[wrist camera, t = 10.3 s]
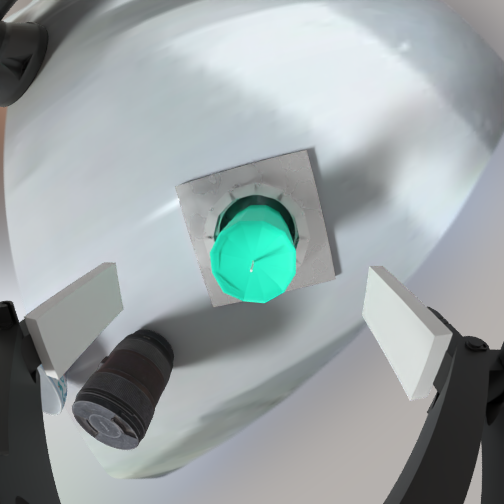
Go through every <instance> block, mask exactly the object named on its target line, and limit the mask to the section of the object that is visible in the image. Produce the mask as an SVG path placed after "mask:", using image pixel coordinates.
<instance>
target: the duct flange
mask: <svg viewBox="0 0 504 504" xmlns="http://www.w3.org/2000/svg"><path fill="white" fill-rule="evenodd" d="M175 188H176V192H177V195H178V199H179V202H180V206H181V209H182V213H183V216H184V219H185V223H186V226H187V229H188V232H189V236H190V239H191V242H192V245H193V248H194V251H195V255H196V258H197V261H198V264H199V267H200V270H201V273H202V276H203V279H204V282H205V285H206V288H207V291H208V294H209V297H210V299H211V302H212V305H213V307H217V306H222V305H227V304H232V303H237V302H241V301H242V300H239V299H237V298H235V297H232V296H230V295H228V294H226V293H223V291H222V289H221V288H220V286H219V284H218V282H217V281H216V279H215V277H214V275H213V274H212V268H211V260H210V251H211V249H212V247H213V245H214V243H215V241H216V239H217V237H218V235H219V233H220V232H221V231H222V230H223V229H224V228H225V227H226V225H227V224H228V223H229V222H230V221H231V220H232V219H233V218H234V217H235V216H236V214H237V213H239V212H240V211H242V210H244V209H245V208H247V207H249V206H250V205H267V206H269V207H271V208H273V209H275V210H276V211H278V212H280V214H281V215H282V217H283V219H284V220H285V222H286V224H287V226H288V228H289V231H290V234H291V237H292V240H293V243H294V246H295V249H296V274H295V276H294V277H293V279H292V281H291V282H290V284H289V285H288V287H287V289H286V290H285V292H286V291H290V290H294V289H298V288H302V287H307V286H311V285H315V284H319V283H323V282H327V281H331V280H334V279H336V278H335V272H334V267H333V262H332V256H331V251H330V246H329V241H328V237H327V232H326V227H325V222H324V218H323V213H322V209H321V205H320V200H319V196H318V192H317V188H316V184H315V180H314V176H313V172H312V168H311V164H310V161H309V157H308V153H307V150H304V151H300V152H295V153H291V154H287V155H283V156H279V157H275V158H271V159H267V160H263V161H259V162H255V163H251V164H248V165H244V166H240V167H237V168H233V169H230V170H226V171H223V172H219V173H216V174H213V175H209V176H206V177H203V178H200V179H197V180H193V181H190V182H187V183H184V184H181V185H178V186H175Z"/></svg>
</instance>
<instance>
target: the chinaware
mask: <svg viewBox="0 0 504 504" xmlns="http://www.w3.org/2000/svg"><path fill="white" fill-rule="evenodd" d="M37 369H38V371H39V374H40V384H41V401H42V412H44V413H46V414H49V415H58V414H59V413H61V411H62V409H63V407H64V404H65V401H66V396H67V380H66V375H65V373H64V375H63V376H62V377H61V378H60V379H59V380H58V379H55V378H53V377H50V376H47V375H46V373H45V371H44V368H43V366H42V364H41V365H40V366H39V367H38V368H37Z"/></svg>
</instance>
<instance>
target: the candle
mask: <svg viewBox="0 0 504 504" xmlns="http://www.w3.org/2000/svg"><path fill="white" fill-rule="evenodd" d="M210 260H211V268H212V274H213V275H214V277H215V279H216V281H217V282H218V284H219V286H220V288H221V289H222V291H223V293H226V294H228V295H230V296H232V297H235V298H237V299H239V300H242V301H246V302H258V303H266V302H268V301H270V300H271V299H273V298H275V297H277V296H279V295H280V294H282V293H284V292H285V290H286V289H287V287H288V285H289V284H290V282H291V281H292V279H293V277H294V276H295V274H296V249H295V246H294V243H293V240H292V237H291V234H290V231H289V228H288V226H287V224H286V222H285V220H284V219H283V217H282V215H281V214H280V212H278V211H276V210H275V209H273V208H271V207H269V206H267V205H250V206H249V207H247V208H245V209H244V210H242V211H240V212H239V213H237V214H236V216H235V217H234V218H233V219H232V220H231V221H230V222H229V223H228V224H227V225H226V227H225V228H224V229H223V230H222V231H221V232H220V233H219V235H218V237H217V239H216V241H215V243H214V245H213V247H212V249H211V251H210Z"/></svg>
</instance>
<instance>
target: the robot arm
mask: <svg viewBox="0 0 504 504" xmlns="http://www.w3.org/2000/svg"><path fill="white" fill-rule="evenodd" d="M16 1H17V0H0V107H6V106H9V105H11V104H13V103H14V102H15V101H16V100H18V99H19V98H20V97H21V95H22V94H23V93H24V92H25V91H26V89H27V88H28V86H29V85H30V83H31V82H32V80H33V79H34V77H35V75H36V73H37V71H38V69H39V67H40V65H41V63H42V60H43V58H44V55H45V52H46V48H47V42H48V34H47V30H46V29H45V27H43V26H41V25H39V24H37V23H34V22H27V23H7V22H4V21H1V20H2V18H3V17H4V16H5V15H6V13H7V12H8V11H9V10H10V8H11V7H12V6H13V5H14V4H15V2H16ZM122 310H123V304H122V299H121V294H120V288H119V282H118V276H117V269H116V263H107V262H104V263H102V264H101V265H99V266H98V267H96V268H95V269H93V270H91V271H90V272H88V273H87V274H85V275H84V276H82V277H81V278H79V279H78V280H76V281H75V282H73V283H72V284H70V285H69V286H67V287H66V288H64V289H63V290H61V291H60V292H58V293H57V294H55V295H54V296H52V297H51V298H49V299H48V300H47V301H45V302H44V303H42V304H41V305H40V306H38V307H37V308H35V309H34V310H33V311H31V312H30V313H28V314H27V315H26V316H25V317H24V318H25V319H24V320H22V321H21V322H20V323H19V320H18V317H17V314H16V311H15V308H14V304H13V302H11V301H2V302H0V504H61V503H60V499H59V496H58V493H57V489H56V485H55V481H54V477H53V473H52V469H51V464H50V459H49V454H48V449H47V443H46V436H45V429H44V422H43V412H42V401H41V384H40V374H39V371H38V369H37V368H38V367H39V366H40V365H41V364H42V366H43V368H44V371H45V373H46V375H47V376H50V377H53V378H55V379H58V380H59V379H60V378H61V377H62V376H63V375H64V373H65V372H66V371H67V370H68V369H69V368H70V367H71V365H72V364H73V363H74V362H75V361H76V360H77V359H78V358H79V356H80V355H81V354H82V353H83V352H84V351H85V350H86V349H87V348H88V346H89V345H90V344H91V343H92V342H93V341H94V340H95V339H96V338H97V337H98V336H99V334H100V333H101V332H102V331H103V330H104V329H105V328H106V327H107V326H108V325H109V324H110V323H111V322H112V321H113V319H114V318H115V317H116V316H117V315H118V314H119V313H120V312H121V311H122ZM362 316H363V318H364V319H365V321H366V323H367V324H368V326H369V328H370V330H371V331H372V333H373V335H374V336H375V338H376V340H377V342H378V343H379V345H380V347H381V348H382V350H383V352H384V354H385V356H386V357H387V359H388V361H389V363H390V364H391V366H392V368H393V370H394V372H395V374H396V375H397V377H398V379H399V381H400V383H401V385H402V387H403V388H404V390H405V392H406V394H407V395H408V398H409V400H410V401H412V400H417V399H421V398H426V397H427V396H428V394H429V392H430V390H431V388H432V386H433V385H434V386H435V388H436V389H437V393H436V395H435V398H434V400H433V402H432V404H431V406H430V407H429V410H428V411H427V413H428V416H427V419H426V421H425V424H424V426H423V428H422V431H421V433H420V436H419V438H418V440H417V442H416V444H415V447H414V449H413V451H412V453H411V455H410V457H409V459H408V461H407V463H406V465H405V467H404V469H403V471H402V473H401V475H400V476H399V478H398V480H397V482H396V483H395V485H394V487H393V489H392V490H391V492H390V494H389V495H388V497H387V499H386V500H385V502H384V503H383V504H463V503H464V500H465V498H466V495H467V491H468V489H469V486H470V482H471V479H472V476H473V472H474V468H475V464H476V461H477V456H478V452H479V448H480V442H481V444H482V494H481V504H504V342H503V345H502V347H501V350H490V349H489V346H488V345H487V344H486V343H485V342H484V341H483V340H481V339H479V338H476V337H472V336H464V337H463V336H462V335H461V334H460V333H459V332H458V331H457V330H456V329H455V328H454V327H453V326H452V325H451V324H448V321H447V320H446V319H444V318H443V317H442V316H441V315H440V314H439V313H438V312H437V311H436V310H434V309H432V308H430V307H426V306H425V305H424V304H423V303H422V302H421V301H420V300H419V299H418V298H417V297H416V296H415V295H414V294H413V293H412V292H410V291H409V290H408V289H407V288H406V287H405V286H404V285H403V284H402V283H401V282H400V281H399V280H398V279H396V278H395V277H394V276H393V275H392V274H391V273H390V272H389V271H388V270H387V269H385V268H384V267H383V266H369V273H368V281H367V288H366V294H365V301H364V307H363V313H362Z"/></svg>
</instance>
